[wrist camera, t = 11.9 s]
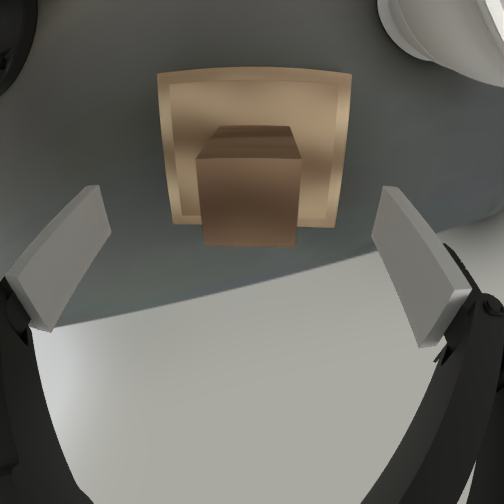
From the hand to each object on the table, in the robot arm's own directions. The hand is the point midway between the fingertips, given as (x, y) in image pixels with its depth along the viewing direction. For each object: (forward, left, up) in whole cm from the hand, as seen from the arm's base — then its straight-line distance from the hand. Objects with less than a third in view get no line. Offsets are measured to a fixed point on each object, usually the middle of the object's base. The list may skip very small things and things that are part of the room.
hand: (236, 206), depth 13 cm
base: (0, 0, -13) cm, 13 cm away
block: (+1, 0, -10) cm, 10 cm away
